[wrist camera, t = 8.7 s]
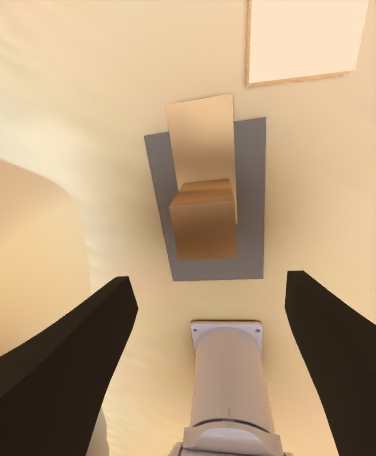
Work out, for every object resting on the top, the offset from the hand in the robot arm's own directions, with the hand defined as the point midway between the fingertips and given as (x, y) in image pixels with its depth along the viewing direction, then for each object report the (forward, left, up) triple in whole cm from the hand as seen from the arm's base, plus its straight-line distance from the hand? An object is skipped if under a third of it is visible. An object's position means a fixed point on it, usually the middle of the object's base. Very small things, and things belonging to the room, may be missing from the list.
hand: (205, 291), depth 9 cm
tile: (+9, -6, -9) cm, 14 cm away
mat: (0, 0, -10) cm, 10 cm away
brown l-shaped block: (+4, 0, -9) cm, 10 cm away
